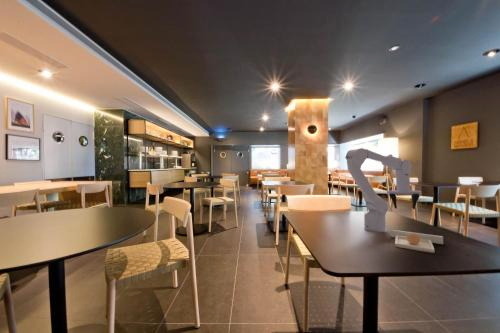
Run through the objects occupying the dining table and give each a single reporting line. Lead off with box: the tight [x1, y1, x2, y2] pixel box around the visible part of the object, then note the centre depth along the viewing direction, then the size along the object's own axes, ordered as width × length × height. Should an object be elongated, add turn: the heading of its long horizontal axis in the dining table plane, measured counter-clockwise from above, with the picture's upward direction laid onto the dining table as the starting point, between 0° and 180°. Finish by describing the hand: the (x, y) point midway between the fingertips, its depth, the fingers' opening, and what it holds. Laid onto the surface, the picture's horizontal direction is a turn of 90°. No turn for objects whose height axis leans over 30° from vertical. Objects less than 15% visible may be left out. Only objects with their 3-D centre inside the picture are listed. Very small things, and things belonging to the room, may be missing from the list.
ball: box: [406, 232, 420, 244], centre depth 85 cm, size 4×4×4 cm
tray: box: [394, 235, 435, 254], centre depth 85 cm, size 12×12×1 cm
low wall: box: [390, 229, 444, 245], centre depth 91 cm, size 18×1×3 cm, turn 54°
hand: (404, 208), depth 108 cm, fingers open, 7 cm apart
